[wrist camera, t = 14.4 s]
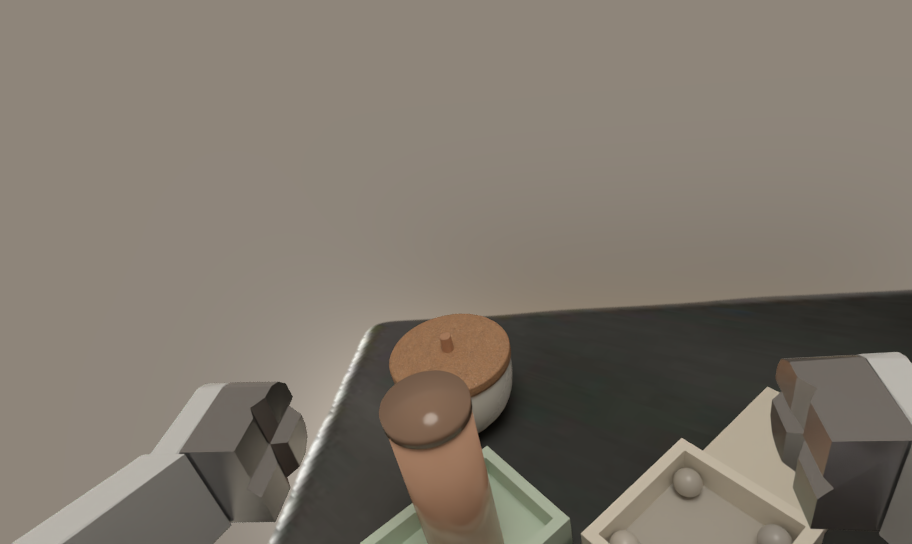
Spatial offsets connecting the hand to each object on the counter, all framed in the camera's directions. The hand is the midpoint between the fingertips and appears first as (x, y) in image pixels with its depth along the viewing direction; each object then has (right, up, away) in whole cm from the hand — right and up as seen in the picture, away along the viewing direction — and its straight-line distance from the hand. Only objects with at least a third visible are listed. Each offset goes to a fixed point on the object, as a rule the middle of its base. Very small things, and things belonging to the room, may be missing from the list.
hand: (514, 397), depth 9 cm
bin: (+20, -15, +31) cm, 39 cm away
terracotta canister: (0, -18, +31) cm, 36 cm away
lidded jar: (0, -11, +44) cm, 45 cm away
